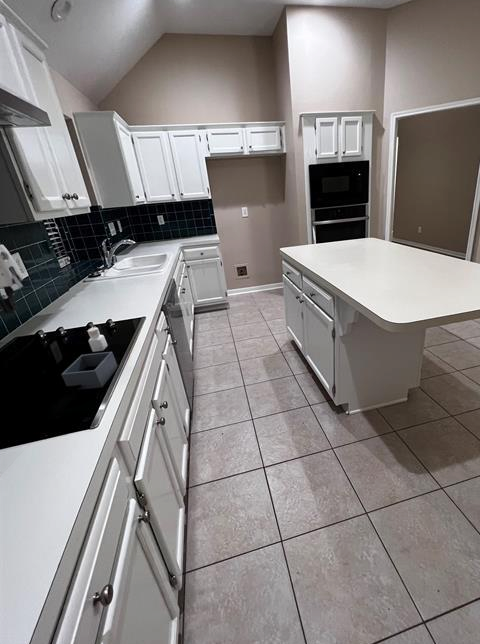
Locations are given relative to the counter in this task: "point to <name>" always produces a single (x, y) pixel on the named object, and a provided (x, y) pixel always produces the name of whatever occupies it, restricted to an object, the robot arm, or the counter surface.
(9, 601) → the counter surface
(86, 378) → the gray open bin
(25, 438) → the counter surface
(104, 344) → the pepper shaker
